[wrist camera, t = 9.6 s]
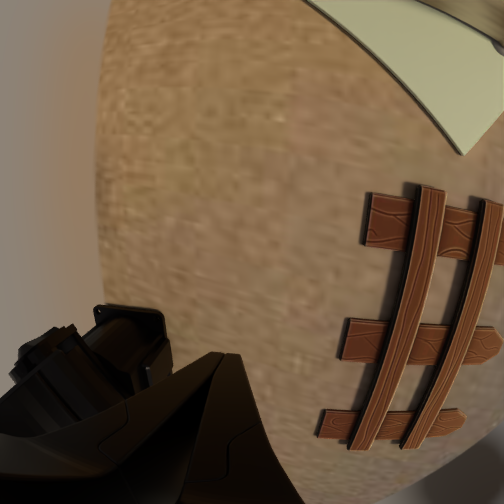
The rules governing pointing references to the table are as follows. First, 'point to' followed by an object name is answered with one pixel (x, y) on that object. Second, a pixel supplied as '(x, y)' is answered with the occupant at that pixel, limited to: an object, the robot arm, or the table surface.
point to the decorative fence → (409, 315)
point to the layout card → (431, 60)
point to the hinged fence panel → (476, 14)
